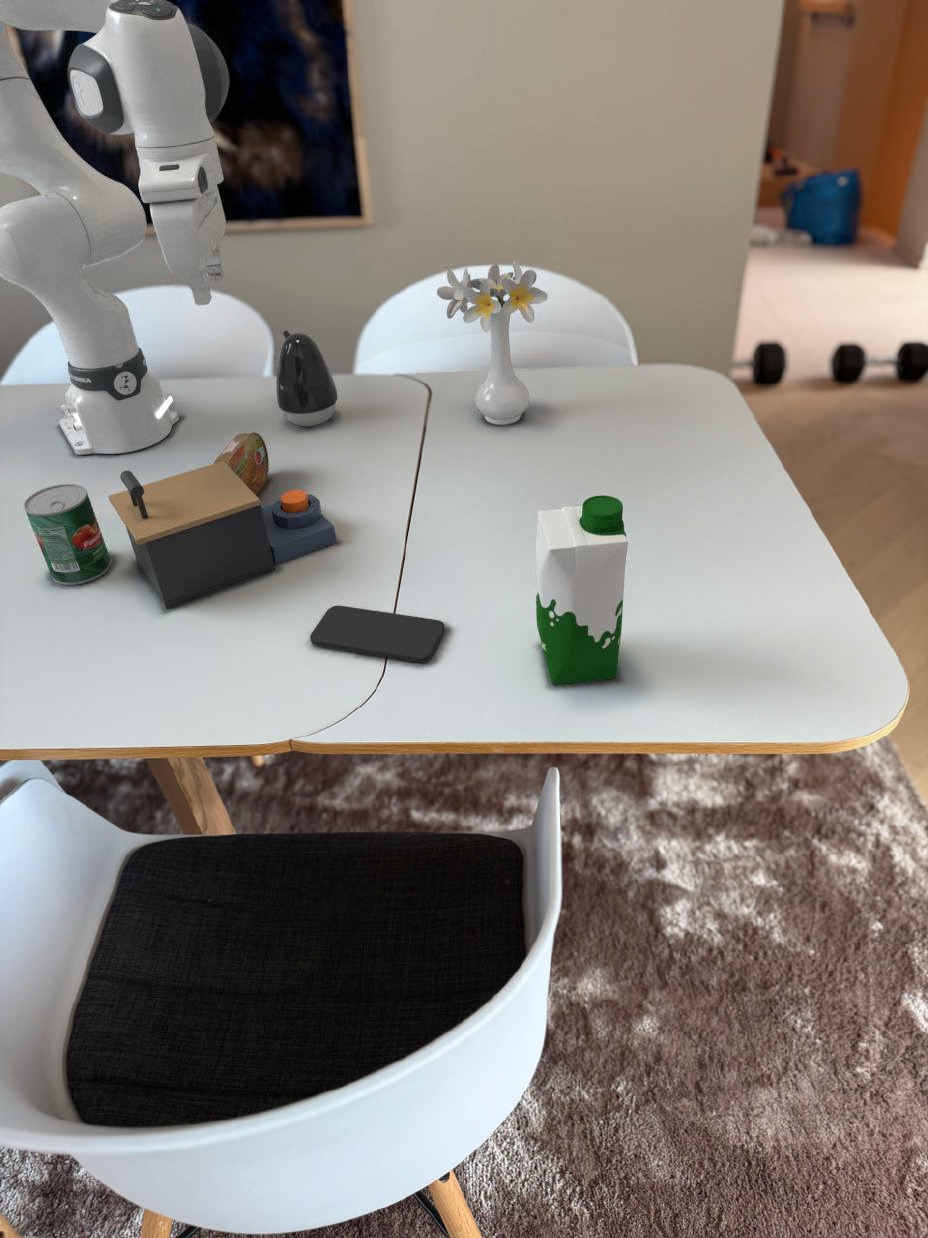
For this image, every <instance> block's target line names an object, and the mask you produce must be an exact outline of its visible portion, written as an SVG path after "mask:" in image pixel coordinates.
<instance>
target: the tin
mask: <svg viewBox="0 0 928 1238" xmlns="http://www.w3.org/2000/svg"><path fill="white" fill-rule="evenodd" d="M221 461H224V462H225V463H226V464H227V465H228V466H229V467H230V468H231V469H232V470H233V472H234V473H235V474H236V475H237V476H238V477H239V478H240V479H241V480H242V481H243V482H244V483H245V484H246V486H247V487H248V488H249V489H250V490H251V491H252V492H253V493H254V494H255V495H256V496H257V495H258V493H259V492H260V490H261V489H262V488H263V486H265V483H266V481H267V479H268V475H269V466H270V463H269V453H268V449H267V445H266V443H265V441H264V438H263V437H262V436H261V434H259V433H258V432H255V431H254V432H245V433H238V434H236V435H235V436H234V437H233V438H232V439H231V441H230V442H229V443H228V445H227V446H226V447H225V448H224V449H223V450H222V452H221V453H220V454H219V455H218V456H217V458H216V459H215V460H214V462H213V464H214V463H218V462H221Z"/></svg>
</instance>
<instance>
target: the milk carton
mask: <svg viewBox="0 0 928 1238" xmlns="http://www.w3.org/2000/svg"><path fill="white" fill-rule="evenodd" d="M623 511H624V504H623V503H622V501H621V500H620V499H619V498H617V497H615V496H611V495H604V494H603V495H601V494H600V495H594V496H590V497H588V498H586V499H585V500H584V501H583V503H582V505H577V506H571V505H570V506H569V505H568V506H562V507H561V508H556V509H555V508H554V509H546V510H538V511H537V523H536V524H537V527H536V544H535V545H536V546H535V595H536V596H535V597H536V598H535V601H536V602H535V609H536V610H535V611H536V613H535V614H536V615H535V616H536V627H537V632H538V636H539V640H540V642H541V649H542V651H543V656H544V659H545V662H546V663H545V664H546V667H547V671H548V676H549V678H550V682H551V685H552V686H555V685H563V684H564V685H565V684H574V683H575V684H576V683H584V682H592V681H593V682H595V681H604V680H613V679H617V673H618V666H619V665H618V664H619V658H620V657H619V655H620V649H621V639H622V626H623V612H624V611H623V609H624V595H625V594H624V592H625V577H626V576H625V575H626V563H627V555H628V547H629V540H628V538H627V533H626V532H625V523H624V520H623V513H624V512H623Z"/></svg>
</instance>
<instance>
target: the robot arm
mask: <svg viewBox="0 0 928 1238" xmlns="http://www.w3.org/2000/svg"><path fill="white" fill-rule="evenodd" d="M8 26H10V27H13V28H15V29H18V30H19V29H20V30H23V31H37V32H38V31H41V32H42V31H43V32H45V31H46V32H47V31H72V32H73V31H75V32H76V31H77V32H88V33H94V34H95V35H94V36H92V37H91V38H89V39H88V40H86V41H85V42H83V43H79V44H78V45H77V46H76V47H75V48H74V50H73V52H72V53H71V56H70V59H69V62H68V66H67V70H66V71H67V72H66V76H67V82H68V87H69V90H70V94H71V98H72V100H73V103H74V105H75V108H76V110H77V111H78V114H79V115H80V116H81V118H82V119H83V120H84V121H86V122H87V123H88V124H89V125H90V126H91V127H93V128H94V129H95V130H97V131H99V132H101V133H102V134H104V135H113V136H123V135H130V134H133V135H134V145H135V149H136V154H137V157H138V164H139V165H138V166H139V169H140V173H139V179H138V190H139V194H140V198H141V201H142V202H143V203H144V204H149V212H150V217H151V222H152V224H153V227H154V231H155V234H156V238H157V241H158V244H159V247H160V250H161V252H162V256H163V259H164V261H165V263H166V266H167V268H168V269H169V271H170V272H171V274H173V275H175V276H180V275H181V276H182V275H183V276H184V279H185V281H186V283H187V285H188V287H189V288H190V290H191V292H192V297H193V301H194V304H195V305H197V306H206V305H209V304H210V303H211V301H212V294H211V287H210V285H208V283H207V280H208V281H209V282H210V283H214V282H221V281H222V279H223V278H224V277H225V276H224V275H225V273H224V269H223V265H222V248H221V240H222V238H223V237H224V235H225V233H226V232H227V220H226V215H225V210H224V206H223V204H222V198H221V195H220V190H219V187H218V185H219V184H221V183H222V182H223V181H224V180H225V179H224V173H223V168H222V165H221V164H222V163H221V159H220V154H219V150H218V145H217V139H216V136H215V132H214V129H213V126H212V125H211V123H212V122H213V121H215V120H216V119H217V117H218V116H219V114H220V112H221V111H222V109H223V107H224V105H225V102H226V100H227V97H228V93H229V89H230V88H229V87H230V75H229V74H230V73H229V69H228V65H227V63H226V60H225V58H224V55H223V54H222V52H221V50H220V48H219V47H218V46H217V45H216V43H215V42H214V40H212V39H211V37H209V35H208V34H207V33H205V32H204V30H202V29H201V28H200V27H198V26H197V25H195V24H192V23H187V21H186V19H185V17H184V15H183V13H182V11H181V9H180V8H179V7H178V6H177V5H175V4H173V3H172V2H171V1H167V0H0V173H2V174H5V175H9V176H12V177H14V178H18V179H20V180H22V181H24V182H26V183H27V184H28V185H30V186H32V187H33V188H34V189H35V190H36V192H38V193H39V195H35V196H32V197H28V198H24V199H20V200H16V201H15V200H14V201H11V202H8V203H7V204H4V205H3V206H1V207H0V278H2V280H4V281H6V282H8V283H10V284H13V285H15V286H18V287H20V288H22V289H24V290H25V291H27V292H28V293H30V294H31V295H32V296H33V297H35V298H36V299H37V300H38V301H39V302H40V303H41V304H42V305H43V307H44V308H45V309H46V310H47V312H48V314H49V315H50V317H51V318H52V321H53V323H54V325H55V327H56V330H57V332H58V334H59V337H60V340H61V342H62V345H63V348H64V350H65V353H66V356H67V360H68V361H67V372H68V376H69V379H70V383H71V384H70V386H69V387H68V389H67V390H66V391H65V394H64V398H65V401H66V403H64V404H62V405H59V409H60V412H61V415H62V417H63V418H61V419H60V420H59V426H60V429H61V430H62V433H63V434H64V436H65V437H66V440H67V441H68V443H69V445H70V446H71V448H72V450H73V451H74V454H76V455H79V456H83V455H92V454H106V455H115V454H124V453H131V452H135V451H139V450H142V449H145V448H148V447H151V446H153V445H156V444H157V443H159V442H161V441H162V440H164V439H165V438H166V437H167V436H168V435H169V434H170V432H171V431H172V427H173V426H174V425H175V424H176V423H177V422H178V421H179V420H180V416H179V414H178V412H176V411H173V410H170V409H169V406H170V405H171V404H172V402H173V397H172V396H169V397H168V398H167V399H166V397H165V395H164V392H163V389H162V386H161V383H160V381H159V378H158V377H157V376H155V375H154V374H151V373H149V372H148V370H149V369H148V366H147V360H146V357H145V354H144V352H143V349H142V348H141V347H139V344H138V341H137V337H136V335H135V330H134V327H133V324H132V319H131V315H130V312H129V308H128V307H127V305H126V304H125V302H124V301H122V299H120V298H119V297H118V296H116V295H115V294H113V293H111V292H108V291H105V290H102V289H98V288H94V287H92V286H91V285H90V284H89V282H88V280H87V278H86V275H85V269H86V268H87V269H88V268H89V267H92V266H96V265H99V264H102V263H105V262H108V261H109V262H110V261H113V260H115V259H118V258H121V257H122V256H125V255H126V254H127V253H129V252H131V251H132V250H134V249H135V248H137V247H139V245H140V246H141V244H142V243H143V242H144V240H145V238H146V234H147V229H148V227H147V216H146V212H145V210H144V206H143V205H142V203H141V201H140V199H139V198H138V197H137V195H136V194H135V193H134V192H133V191H132V190H131V189H130V188H129V187H128V186H126V185H125V184H123V183H121V182H119V181H116V180H114V179H112V178H110V177H107V176H105V174H102V173H101V172H99V171H98V170H96V169H95V168H94V167H93V166H92V165H90V164H89V163H88V162H86V161H85V160H84V159H83V158H82V157H81V156H80V155H79V154H78V153H77V152H76V151H75V150H74V149H73V148H72V147H71V145H70V144H69V143H68V142H67V141H66V139H65V138H64V137H63V135H62V134H61V132H60V131H59V129H58V128H57V125H56V124H55V122H54V121H53V119H52V117H51V116H50V113H49V112H48V110H47V108H46V106H45V105H44V103H43V100H42V99H41V97H40V95H39V94H38V91H37V89H36V87H35V85H34V83H33V82H32V80H31V77H30V76H29V74H28V72H27V70H26V68H25V67H24V65H23V63H22V61H21V59H20V58H19V56H18V55H17V53H16V51H15V49H14V47H13V45H12V43H11V41H10V38H9V34H8ZM210 122H211V123H210ZM205 274H206V275H207V279H206V275H205Z"/></svg>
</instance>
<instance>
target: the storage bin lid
mask: <svg viewBox="0 0 928 1238" xmlns="http://www.w3.org/2000/svg"><path fill="white" fill-rule="evenodd" d="M119 475H120V476H119V478H120V481H121V482H122V483H123V485H124V487H125V488H126V490H122V491H120V492H116V493H112V494H110V495H108V497H107V498H108V500H109V502H110V504H111V505H112V507H113V508H114V511H116V513H117V515H118V516H119V518H120V520H121V521H122V522H123V524H124V526H125V528H126V527H127V529H128V530H129V532H130V533H131V535H132V537H133V538H134V540H135V541H136V543H137V544H138V545H140V544H144V543H147V542H150V541H153V540H156V539H159V538H162V537H165V536H168V535H171V534H174V533H177V532H180V531H183V530H186V529H189V528H192V527H195V526H198V525H201V524H204V523H207V522H210V521H213V520H216V519H219V518H222V517H225V516H228V515H231V514H234V513H237V512H240V511H243V510H246V509H249V508H253V507H256V506H259V505H261V506H262V504H261V500H260V498H259V497H258V496H257V495H255V494H254V493H253V492H252V491H251V490H250V489H249V488H248V487H247V486H246V484H245V483H244V482H243V481H242V480H241V479H240V478H239V477H238V476H237V475H236V474H235V473H234V472H233V470H232V469H231V468H230V467H229V466H228V465H227V464H226V463H225V462H224V461H221V462H218V463H214V462H213V463H211V464H208V465H206V466H205V465H204V466H201V467H199V468H195V469H191V470H189V471H185V472H181V473H178V474H176V475H172V476H169V477H166V478H162V479H158V480H156V481H152V482H148V483H146V484H141V483H140V481H139V480H138V478H137V477H136V476H135V474H134V473H133V472H132V471H131V470H123V471H122V472H121V473H120V474H119ZM127 529H126V530H127Z"/></svg>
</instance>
